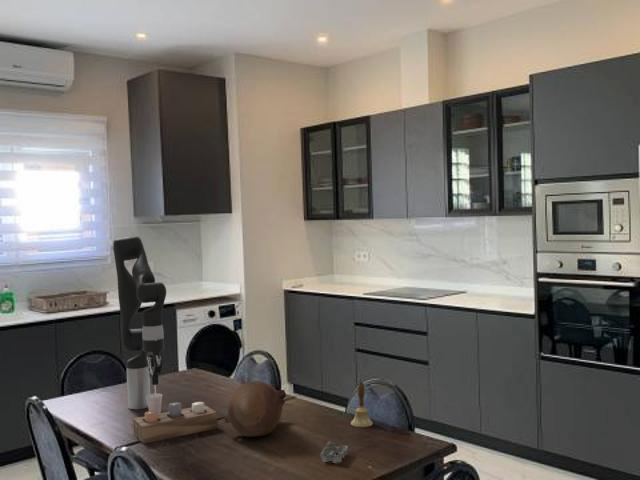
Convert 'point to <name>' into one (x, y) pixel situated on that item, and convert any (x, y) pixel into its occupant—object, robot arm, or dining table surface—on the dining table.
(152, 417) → the brown egg
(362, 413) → the hand bell
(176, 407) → the grey rounded cylinder
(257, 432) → the jug
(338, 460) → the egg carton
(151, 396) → the smoothie
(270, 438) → the dining table surface
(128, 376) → the robot arm
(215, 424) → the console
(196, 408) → the white egg
